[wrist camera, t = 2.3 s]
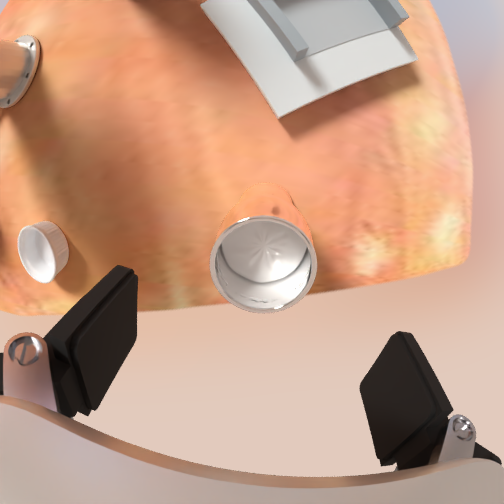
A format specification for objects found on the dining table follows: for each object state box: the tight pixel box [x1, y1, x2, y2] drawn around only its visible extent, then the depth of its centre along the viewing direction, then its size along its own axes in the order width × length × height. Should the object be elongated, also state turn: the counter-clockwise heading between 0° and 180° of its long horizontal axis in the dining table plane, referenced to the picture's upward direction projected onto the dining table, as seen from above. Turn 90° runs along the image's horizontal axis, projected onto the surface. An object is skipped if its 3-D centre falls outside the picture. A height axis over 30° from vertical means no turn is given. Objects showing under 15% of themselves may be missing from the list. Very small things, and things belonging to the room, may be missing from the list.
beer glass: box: [209, 182, 317, 313], centre depth 24 cm, size 7×7×15 cm
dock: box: [200, 0, 418, 119], centre depth 19 cm, size 18×16×6 cm
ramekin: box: [18, 221, 69, 283], centre depth 32 cm, size 9×9×4 cm
